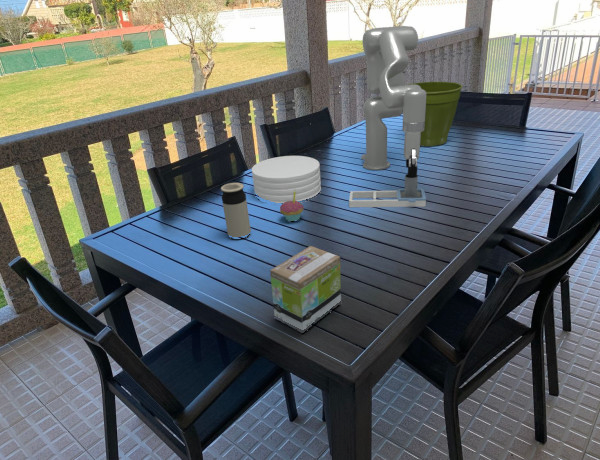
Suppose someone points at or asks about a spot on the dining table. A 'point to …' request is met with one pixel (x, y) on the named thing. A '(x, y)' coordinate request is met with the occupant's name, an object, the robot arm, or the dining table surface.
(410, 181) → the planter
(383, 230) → the dining table surface
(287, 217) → the cupcake
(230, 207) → the travel mug
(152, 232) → the dining table surface
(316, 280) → the tea box
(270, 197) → the plate stack
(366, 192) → the white ladder frame
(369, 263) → the dining table surface
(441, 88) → the plant pot
